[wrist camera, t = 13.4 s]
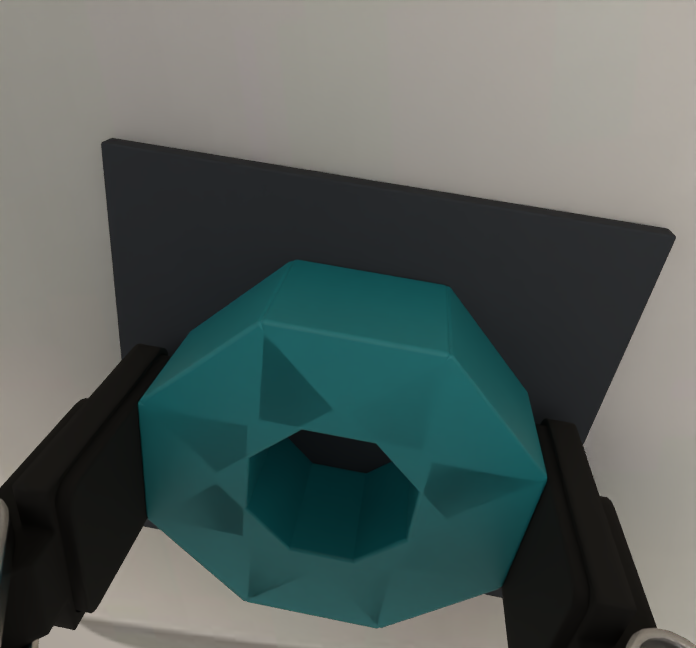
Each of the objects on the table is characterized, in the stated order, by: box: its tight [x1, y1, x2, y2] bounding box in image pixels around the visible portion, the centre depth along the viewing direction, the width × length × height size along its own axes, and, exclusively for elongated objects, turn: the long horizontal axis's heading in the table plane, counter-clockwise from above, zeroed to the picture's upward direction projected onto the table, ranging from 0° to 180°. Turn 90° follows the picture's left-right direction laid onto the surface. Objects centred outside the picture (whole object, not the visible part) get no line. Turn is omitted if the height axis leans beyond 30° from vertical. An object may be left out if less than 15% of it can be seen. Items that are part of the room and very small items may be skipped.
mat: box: [101, 138, 676, 598], centre depth 12 cm, size 10×10×1 cm
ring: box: [138, 260, 548, 628], centre depth 11 cm, size 7×7×2 cm
